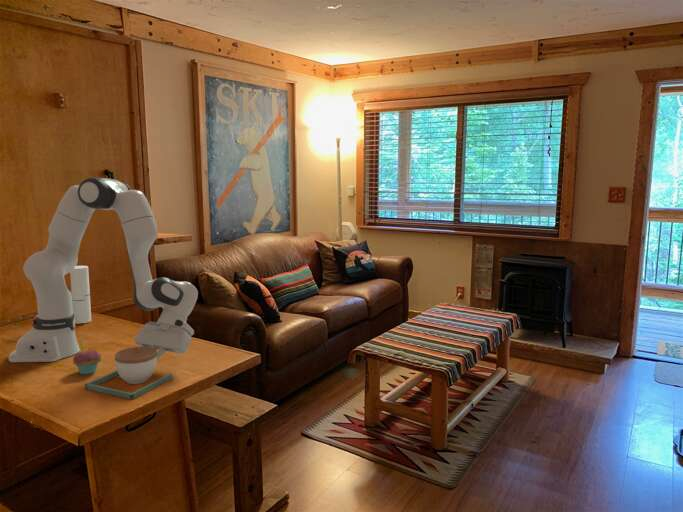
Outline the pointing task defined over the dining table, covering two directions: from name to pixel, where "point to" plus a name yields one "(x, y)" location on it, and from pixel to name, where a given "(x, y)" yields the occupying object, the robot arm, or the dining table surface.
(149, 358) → the lidded bowl
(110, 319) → the dining table surface
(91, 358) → the cupcake
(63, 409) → the dining table surface
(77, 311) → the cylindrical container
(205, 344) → the dining table surface
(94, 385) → the teal u-shaped frame
